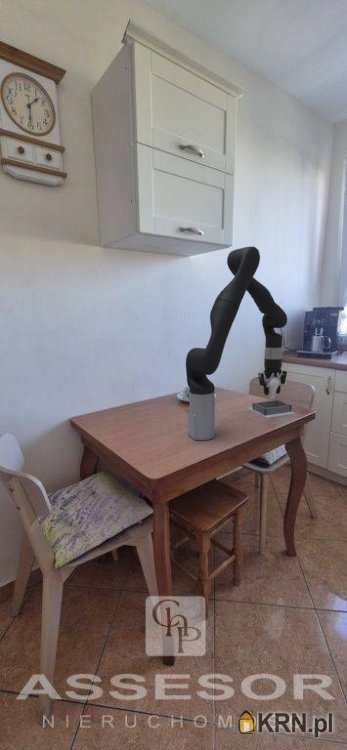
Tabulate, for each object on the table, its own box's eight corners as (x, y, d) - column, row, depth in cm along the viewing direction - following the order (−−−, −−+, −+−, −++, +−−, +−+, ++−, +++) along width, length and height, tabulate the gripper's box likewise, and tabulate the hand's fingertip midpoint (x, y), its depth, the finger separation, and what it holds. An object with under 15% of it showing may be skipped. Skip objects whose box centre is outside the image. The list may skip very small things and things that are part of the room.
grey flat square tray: (267, 418, 137) (267, 410, 136) (248, 408, 151) (248, 401, 150) (296, 413, 142) (296, 406, 141) (275, 404, 155) (275, 398, 155)
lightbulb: (262, 399, 145) (263, 375, 143) (269, 396, 149) (269, 373, 147) (274, 401, 141) (275, 377, 139) (281, 398, 145) (282, 375, 143)
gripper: (264, 359, 136) (263, 397, 139) (292, 357, 140) (290, 394, 143) (254, 357, 142) (253, 393, 146) (281, 355, 147) (280, 390, 150)
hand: (271, 393), depth 145 cm, fingers closed on lightbulb, 5 cm apart
